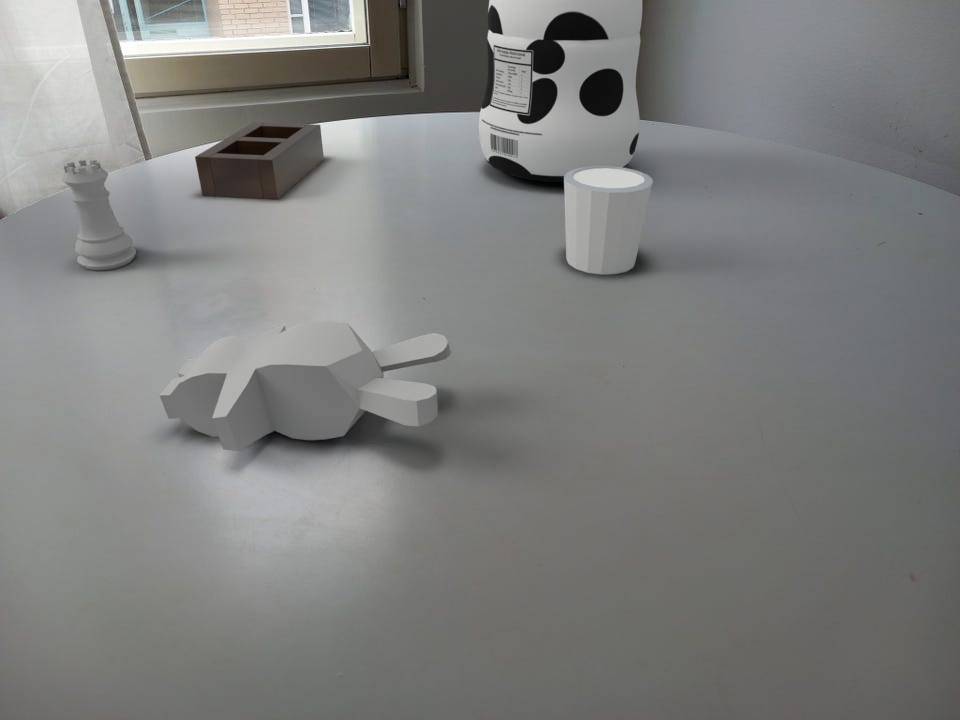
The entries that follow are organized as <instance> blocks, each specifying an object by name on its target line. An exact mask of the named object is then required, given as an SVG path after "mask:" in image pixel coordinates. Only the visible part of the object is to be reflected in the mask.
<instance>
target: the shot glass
mask: <svg viewBox="0 0 960 720" xmlns="http://www.w3.org/2000/svg"><path fill="white" fill-rule="evenodd" d="M653 184H654V179H653V178H652V177H651V176H650V175H649V174H647V173H644V172H642V171H640V170H636V169H633V168H628V167H625V168H623V167H612V166H590V167H583V168H577V169H574V170H572V171H569V172H567V174H566V175H565V176H564V182H563V188H564V189H563V190H564V191H563V193H564V223H565V225H564V227H565V230H564V231H565V254H566V255H565V257H566V258H565V259H566V261H567V264H568V265H569V266H571V267H572V268H574V269H575V270H578V271H581V272H584V273H587V274H594V275H617V274H621V273H627V272H629V271H630V270H631V269H633V268H634V267H635V264H636V261H637V257H638V256H637V255H638V252H639V246H640V242H641V237H642V233H643V228H644V224H645V219H646V215H647V210H648V206H649V202H650V197H651V191H652V189H653V188H652V187H653Z"/></svg>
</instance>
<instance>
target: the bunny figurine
mask: <svg viewBox="0 0 960 720" xmlns="http://www.w3.org/2000/svg"><path fill="white" fill-rule="evenodd" d="M451 354H452V350H451V347H450V343H449V341H448V339H447V338H446V336H445V335H444V334H440V333H437V332H432V333H427V334H423V335H419V336H416V337H412V338H410V339H406V340H403V341H399V342H397V343H393V344H391V345H388V346H385V347H382V348H379V349H376V350H371V348H369V346H368V345H367V344H366V343H365V342H364V340H363V339H362V338H361V337H360V336H359V335H358V333H357V332H356V331H355V330H354V328H353V327H352V326H351V325H350V324H349V322H347V321H344V322H343V321H335V320H333V321H332V320H325V321H324V320H322V321H310V322H304V323H299V324H295V325H292V326H291V327H288V328H286V325H285V324H283V325H280V326H275V327H272V328H270V329H269V330H267V331H266V332H264V333H263V334H261V335H260V336H258V337H256V338H255V339H253V340H251V341H248V340H245V339H243V338H241V337H239V336H236V335H230V336H222V337H220V338H218V339H217V340H215V341H213V342H212V343H210V344H209V345H208V346H207V347H206V349H205V350H204V351H203V352H202V354H201V355H199V357H191V358H188V359H187V360H186V362H185V363H184V364H183V366H181V368H180V370H179V371H178V372H177V376H178V377H176V378H172V379H171V381H170V382H169V383H168V384H167V385H166V387H165V388H164V389H163V390H162V391H161V393H160V394H159V398H160V401H161V403H162V406H163V408H164V411H165V413H166V415H167V418H168V420H169V419H170V420H175V419H177V420H181V421H182V422H183V423H185V424H186V425H187V426H189V427H190V428H192V429H193V430H195V431H196V432H198V433H201V434H204V435H207V436H209V437H212V438H217V437H218V439H219V441H220V444H221V447H222V450H226V451H233V452H240V451H241V450H244V449H245V448H247V447H248V446H250V445H251V444H254V443H255V442H257V441H258V440H260V439H262V438H263V437H265V436H267V435H268V434H271V433H273V432H277V433H278V434H279V433H280V434H282V435H283V436H286V437H288V438H290V439H293V440H294V439H296V440H302V441H303V440H304V441H320V440H330V439H335V438H341V437H344V436H345V435H346V434H347V433H348V432H349V431H350V430H351V429H352V427H353V426H354V425H355V424H356V423H357V421H358V420H359V419H360V418H361V417H362V416H363V415H364V413H365V412H366V411H367V412H369V413H371V414H373V415H376V416H379V417H382V418H385V419H387V420H388V421H389V420H390V421H392V422H395V423H397V424H400V425H403V426H405V427H406V426H408V427H409V426H410V427H419V428H420V427H422V426H425V425H427V424H430V423H432V422H433V421H434V420H435V419H436V418H437V417H438V415H439V403H438V392H437V390H438V389H437V388H436V387H435V386H434V385H432V384H429V383H424V382H416V381H410V380H409V381H408V380H400V379H391V378H384V377H385V376H384V372H388V371H395V370H400V369H404V368H405V369H406V368H408V367H415V366H420V365H421V366H422V365H426V364H431V363H432V364H433V363H437V362H440V361H443V360H446V359H448V358H449V357H450V356H451Z"/></svg>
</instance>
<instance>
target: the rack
mask: <svg viewBox="0 0 960 720" xmlns="http://www.w3.org/2000/svg"><path fill="white" fill-rule="evenodd" d="M321 127H322V126H321V124H313V123H312V124H311V123H287V122H285V123H282V122H257V121H254V122H252V123H250V124H248V125H246V126H245V127H243V128H241V129H239V130H238V131H236V132H234V133H233V134H231V135H229V136H228V137H226V138H224V139H223V140H221V141H219V142H218V143H216V144H214V145H212V146H210V147H209V148H207V149H206V150H204V151H202V152H200V153H199V154H197V155H196V156H194V159H195V164H196V169H197V170H196V171H197V174H198V175H197V176H198V179H199V185H200V190H201V196H203V197H220V198H221V197H222V198H237V199H241V198H242V199H259V200H262V199H263V200H279V199H281V197H283V196H284V195H285V194H286V193H287V192H288V191H290V190H291V189H292V188H293V187H294V186H295V185H296V184H298V183H299V182H300V181H301V180H302V179H303V178H304V177H306V176H307V175H308V174H309V173H310V172H312V170H314V169H315V168H316V167H317V166H318V165H319V164H321V163H322V162H323V161H324V160H325V156H324V148H323V139H322V137H323V136H322V130H321V129H322V128H321Z"/></svg>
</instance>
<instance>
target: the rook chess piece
mask: <svg viewBox="0 0 960 720" xmlns="http://www.w3.org/2000/svg"><path fill="white" fill-rule="evenodd" d="M78 164H79V166H76V164H75V161H69V162H66V164H64V165H63V169H64V174H62V175H63V176H62V177H61V181H62V182H63V183H64V184H65V185H67V186H68V187H69V188H70V190H71V193H72V194H71V196H70V200H71V201H72V202H73V203H74V204H75V208H76V212H77V213H76V214H77V220H78V227H79V228H78V233H77V234H76V238H77V240H76V241H75V243H74V244H75V245H74V252H75V253H77V254H78V256H77V258H76V261H77V263H78V264H79V265H80V266H82V267H83V268H85V269H86V270H91V271H107V270H115V269H118V268H122V267H124V266H125V265H128V264H130V263H131V262H132V261H133V260H134V258H135V256H136V254H137V251H136V248H134V247H132V245H133V238H132V237H131V235H130V234H128V233H127V232H125V231H124V227H123V226H121V225H120V223H119V222H118V220H117V218H116V216H115V213H114V211H113V209H112V206H111V203H110V199H109V197H110V195H111V193H110V191H109V190H107V187H106V186H105V183H106V181H107V178H108V177H109V172H107V171H106V170H105V169H104V168H102V166H101V161H98V160H97V159H89V164H90V165H89V164H87V161H86V159H78Z"/></svg>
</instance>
